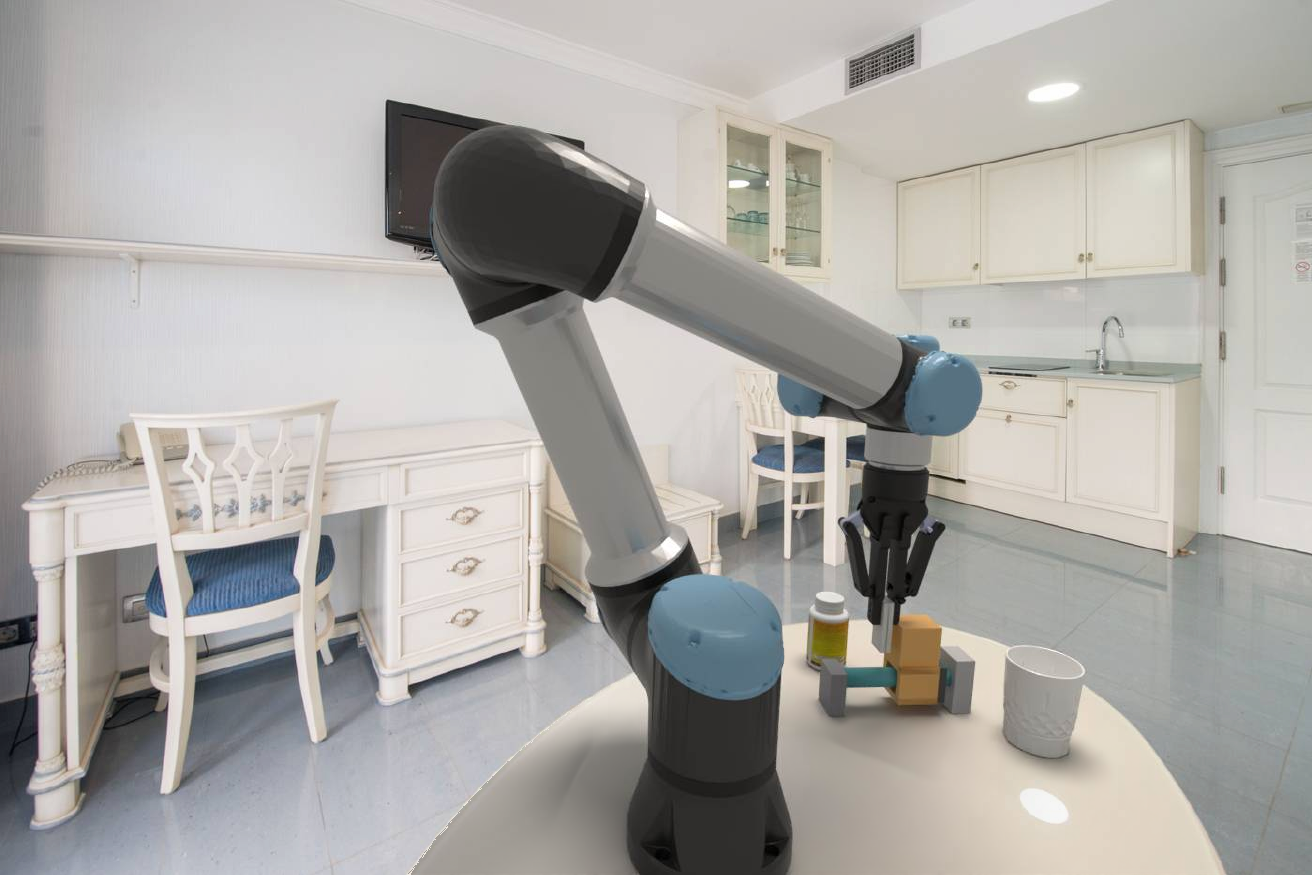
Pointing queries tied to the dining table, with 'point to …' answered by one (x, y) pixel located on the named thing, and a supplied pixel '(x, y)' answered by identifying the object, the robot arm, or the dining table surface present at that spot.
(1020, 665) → the white cup
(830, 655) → the supplement bottle
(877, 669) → the teal axle dumbbell
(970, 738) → the dining table surface
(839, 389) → the robot arm
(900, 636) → the sleeve
